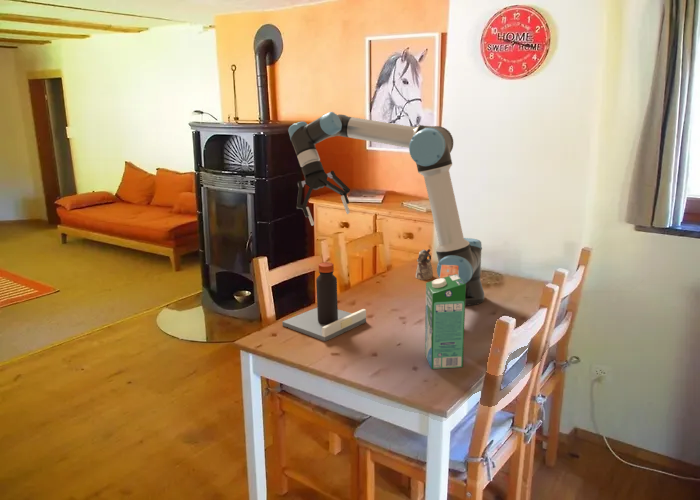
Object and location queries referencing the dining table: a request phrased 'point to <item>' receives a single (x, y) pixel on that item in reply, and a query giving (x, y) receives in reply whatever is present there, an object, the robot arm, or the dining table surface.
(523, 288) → the dining table surface
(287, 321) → the grey flat square slab
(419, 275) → the figurine
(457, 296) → the milk carton
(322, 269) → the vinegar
